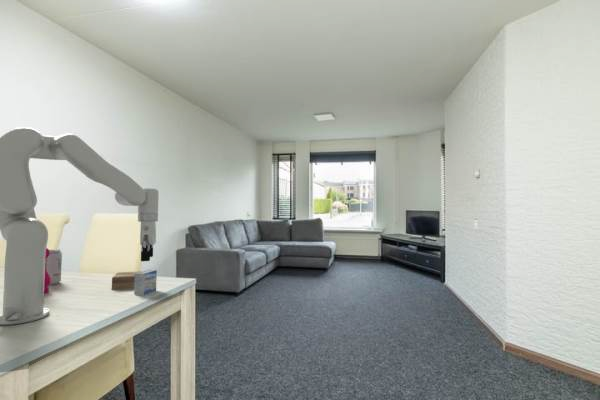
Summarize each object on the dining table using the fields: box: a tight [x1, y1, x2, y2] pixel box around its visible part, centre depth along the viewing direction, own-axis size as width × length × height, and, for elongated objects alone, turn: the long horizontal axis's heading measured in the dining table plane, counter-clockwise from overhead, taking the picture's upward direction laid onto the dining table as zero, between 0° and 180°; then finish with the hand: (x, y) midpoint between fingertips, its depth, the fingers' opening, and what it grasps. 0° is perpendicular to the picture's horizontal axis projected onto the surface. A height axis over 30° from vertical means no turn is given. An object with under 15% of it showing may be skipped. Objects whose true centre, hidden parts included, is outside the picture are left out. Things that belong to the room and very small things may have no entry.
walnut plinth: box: [111, 270, 142, 291], centre depth 134 cm, size 10×10×5 cm
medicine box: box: [133, 269, 158, 296], centre depth 124 cm, size 8×4×9 cm, turn 168°
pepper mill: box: [44, 247, 51, 295], centre depth 121 cm, size 7×7×20 cm
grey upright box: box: [46, 248, 63, 286], centre depth 134 cm, size 6×6×15 cm
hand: (147, 258), depth 125 cm, fingers open, 9 cm apart
